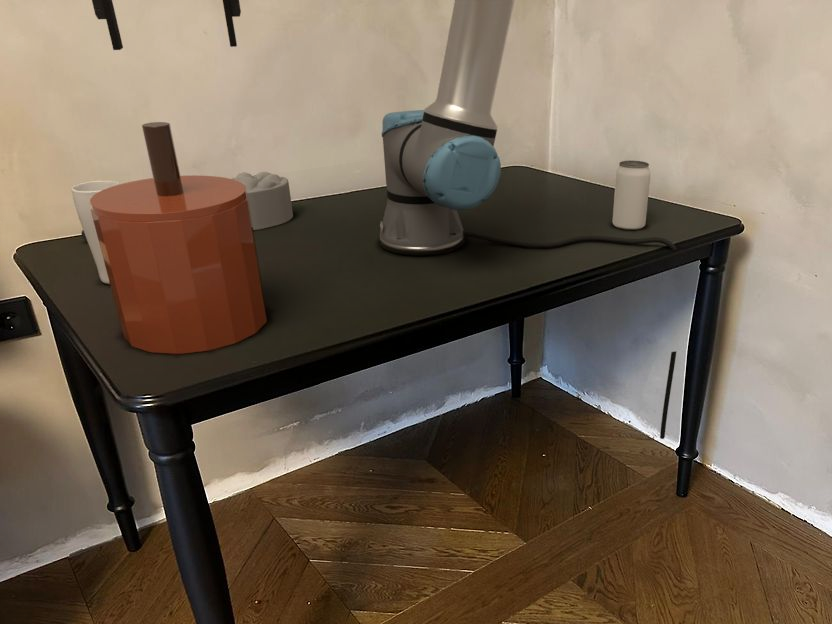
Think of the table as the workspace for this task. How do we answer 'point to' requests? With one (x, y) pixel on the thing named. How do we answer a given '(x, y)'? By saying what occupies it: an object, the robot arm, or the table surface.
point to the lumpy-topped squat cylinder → (267, 198)
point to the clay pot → (180, 255)
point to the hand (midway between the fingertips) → (177, 47)
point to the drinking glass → (91, 219)
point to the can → (631, 195)
